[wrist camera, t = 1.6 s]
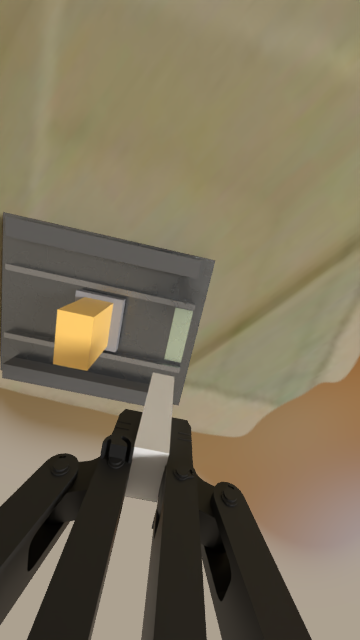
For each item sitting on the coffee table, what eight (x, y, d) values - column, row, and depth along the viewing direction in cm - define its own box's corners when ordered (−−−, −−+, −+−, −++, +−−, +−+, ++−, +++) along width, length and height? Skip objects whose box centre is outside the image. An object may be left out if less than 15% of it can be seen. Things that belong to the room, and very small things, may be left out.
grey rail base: (28, 217, 28) (-5, 210, 23) (210, 259, 29) (216, 260, 24) (22, 356, 33) (-6, 374, 28) (179, 388, 34) (178, 410, 29)
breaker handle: (80, 288, 26) (45, 300, 19) (125, 298, 26) (106, 314, 20) (74, 339, 27) (41, 366, 21) (117, 348, 28) (97, 378, 21)
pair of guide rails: (18, 218, 24) (5, 216, 22) (200, 260, 25) (201, 260, 23) (13, 370, 29) (2, 377, 27) (167, 401, 30) (166, 410, 28)
